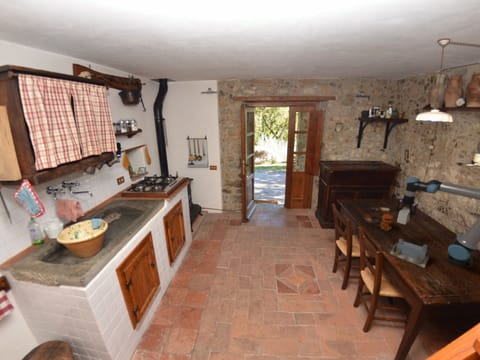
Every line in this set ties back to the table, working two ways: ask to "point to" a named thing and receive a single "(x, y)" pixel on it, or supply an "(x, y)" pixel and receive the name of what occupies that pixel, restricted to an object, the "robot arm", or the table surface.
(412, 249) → the notched blue block
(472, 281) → the table surface
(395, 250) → the jig board
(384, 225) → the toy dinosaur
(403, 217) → the wing bar
